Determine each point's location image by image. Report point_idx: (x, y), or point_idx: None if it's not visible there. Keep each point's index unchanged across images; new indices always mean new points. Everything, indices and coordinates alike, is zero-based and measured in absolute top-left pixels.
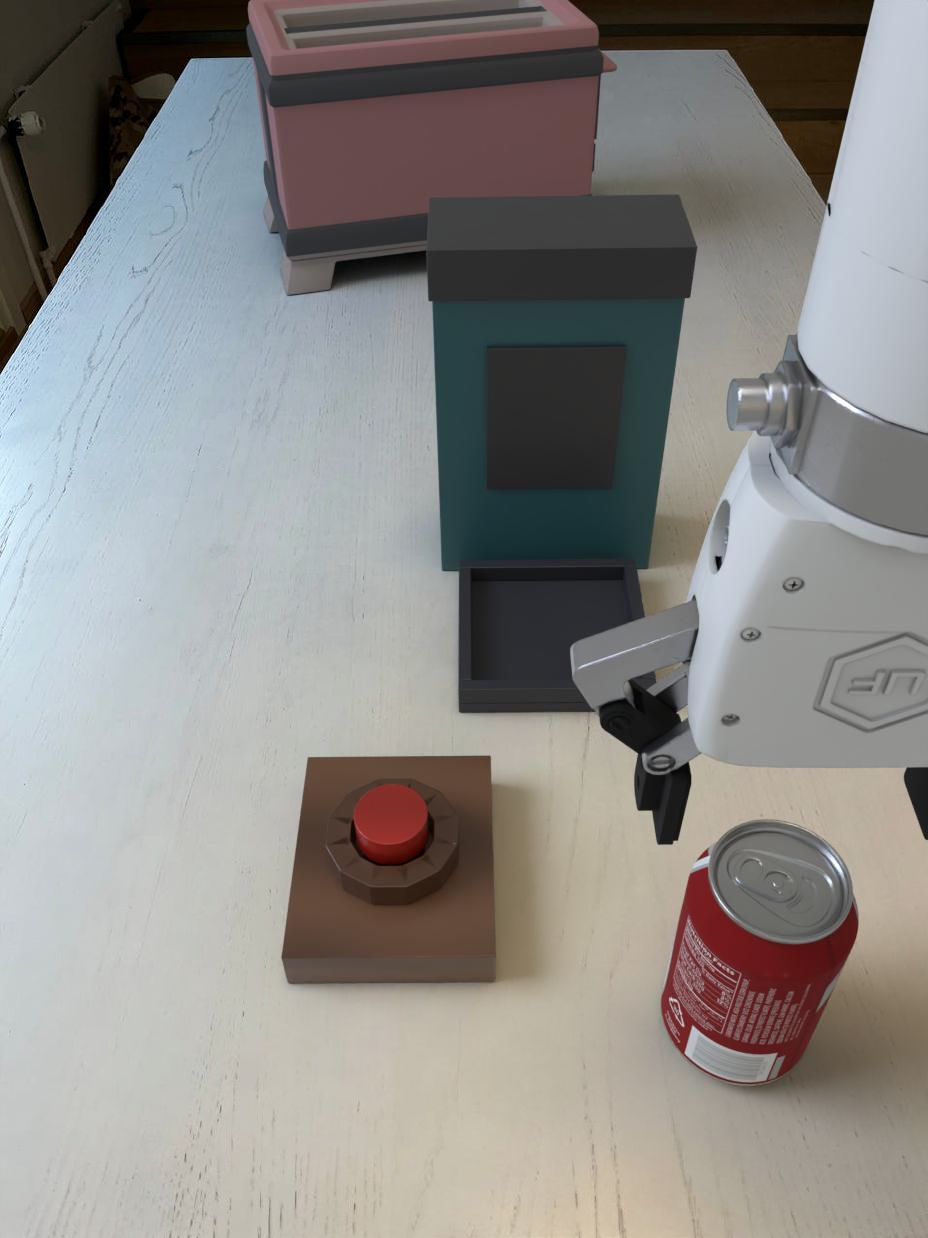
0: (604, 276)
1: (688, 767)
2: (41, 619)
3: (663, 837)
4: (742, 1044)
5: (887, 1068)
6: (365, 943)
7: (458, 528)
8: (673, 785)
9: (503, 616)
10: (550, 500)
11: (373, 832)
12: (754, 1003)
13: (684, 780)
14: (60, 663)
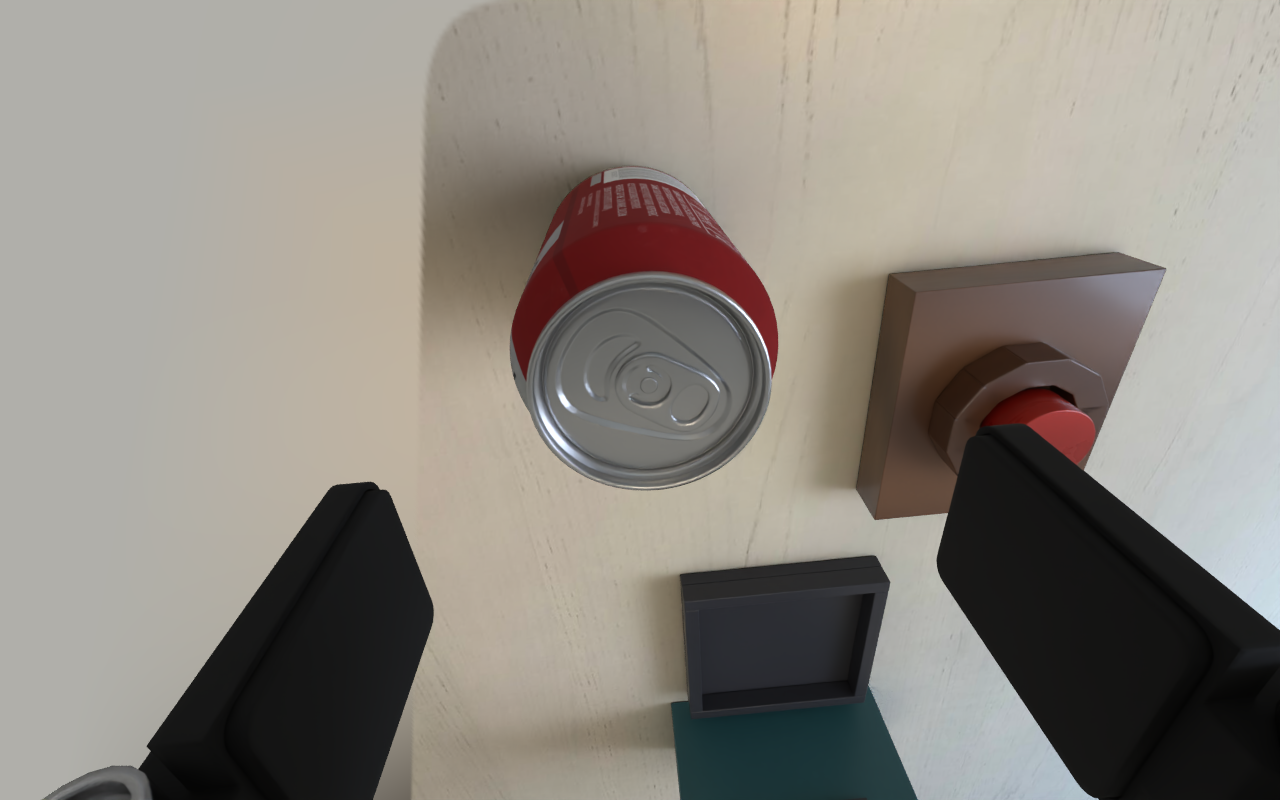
0: None
1: (1186, 685)
2: (1263, 606)
3: (1036, 440)
4: (654, 183)
5: (457, 209)
6: (1064, 295)
7: (873, 739)
8: (1255, 621)
9: (821, 651)
10: (791, 786)
11: (1077, 423)
12: (668, 206)
13: (1250, 650)
14: (1258, 567)
